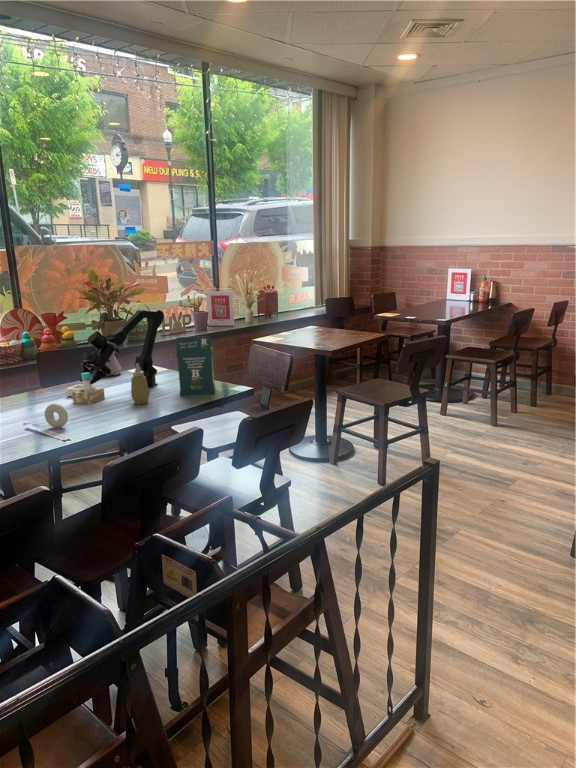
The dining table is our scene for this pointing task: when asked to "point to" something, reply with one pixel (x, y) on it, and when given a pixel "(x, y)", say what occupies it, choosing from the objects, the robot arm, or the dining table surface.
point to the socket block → (88, 395)
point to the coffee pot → (113, 365)
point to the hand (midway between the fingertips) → (85, 382)
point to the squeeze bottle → (139, 387)
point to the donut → (61, 412)
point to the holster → (73, 389)
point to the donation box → (195, 365)
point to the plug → (86, 382)
